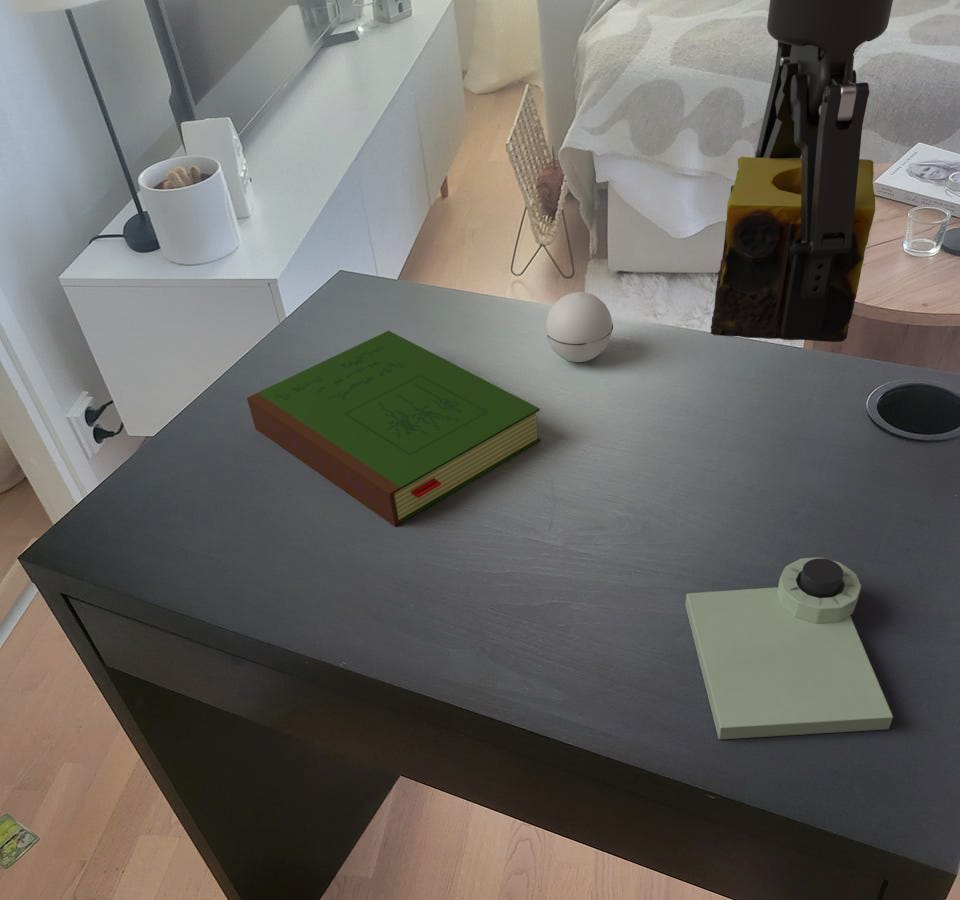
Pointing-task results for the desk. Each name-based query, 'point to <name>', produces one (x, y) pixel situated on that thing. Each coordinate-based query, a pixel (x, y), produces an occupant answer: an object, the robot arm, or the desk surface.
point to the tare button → (821, 578)
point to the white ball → (579, 327)
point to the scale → (785, 660)
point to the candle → (781, 252)
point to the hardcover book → (394, 424)
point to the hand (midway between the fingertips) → (782, 297)
